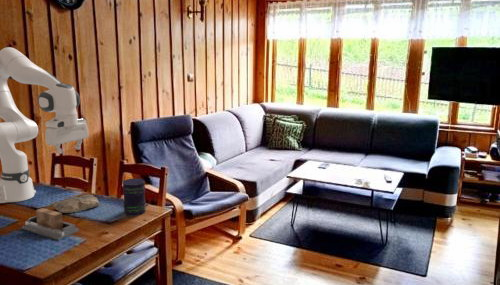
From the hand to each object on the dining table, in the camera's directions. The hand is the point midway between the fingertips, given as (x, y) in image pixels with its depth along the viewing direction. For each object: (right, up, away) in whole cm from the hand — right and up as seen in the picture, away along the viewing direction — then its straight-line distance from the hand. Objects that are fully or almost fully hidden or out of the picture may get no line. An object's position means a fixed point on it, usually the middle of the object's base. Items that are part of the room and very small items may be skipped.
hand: (69, 151), depth 181 cm
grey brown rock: (-2, -28, +12) cm, 30 cm away
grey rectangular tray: (-2, -33, -12) cm, 35 cm away
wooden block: (-2, -32, -13) cm, 34 cm away
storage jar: (+27, -29, +8) cm, 40 cm away
